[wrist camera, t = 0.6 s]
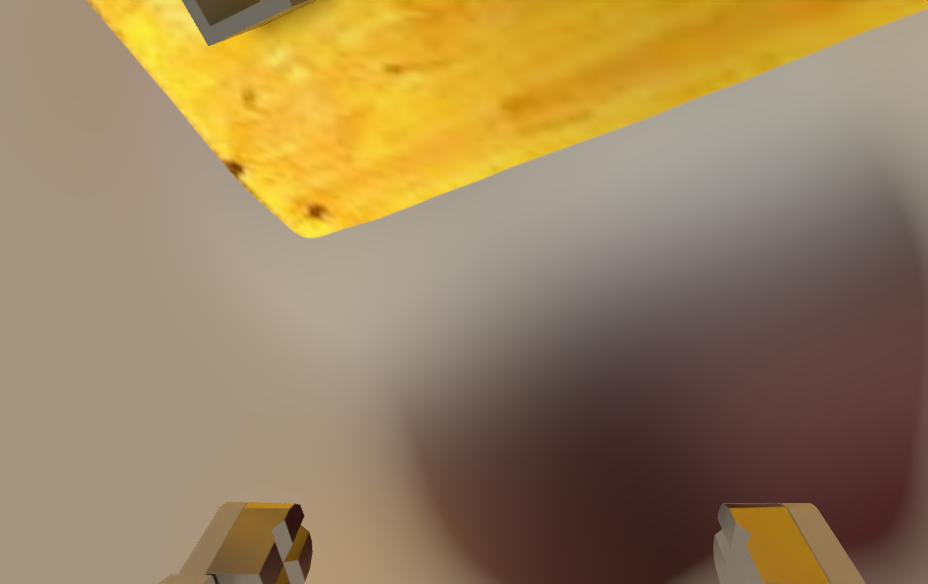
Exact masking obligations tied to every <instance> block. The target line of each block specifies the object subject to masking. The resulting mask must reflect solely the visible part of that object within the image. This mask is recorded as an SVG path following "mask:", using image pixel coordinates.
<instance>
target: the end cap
mask: <svg viewBox="0 0 928 584" xmlns="http://www.w3.org/2000/svg"><path fill="white" fill-rule="evenodd" d="M182 1H183V3H184V5H185V6H186V8H187V10H188V12H189V13H190V15H191V17H192V18H193V20H194V22H195V24H196V25H197V27H198V29H199V31H200V32H201V34H202V36H203V37H204V39H205V41H206V43H207V44H208V46H211V45H213V44H216V43H219V42H221V41H224V40H226V39H229V38H231V37H234V36H237V35H239V34H242V33H244V32H247V31H250V30H252V29H255V28H257V27H260V26H262V25H264V24H266V23H269V22H271V21H273V20H275V19H277V18H279V17H281V16H283V15H286V14H288V13H290V12H292V11H294V10H296V9H298V8H300V7H303V6H305V5H307V4H309V3H311V2H313V1H315V0H262V1H260V0H182Z"/></svg>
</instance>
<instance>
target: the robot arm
mask: <svg viewBox="0 0 928 584" xmlns="http://www.w3.org/2000/svg"><path fill="white" fill-rule="evenodd" d="M303 518H304V514H303V511H302V508H301V505H300V504H289V503H257V502H255V503H254V502H250V503H248V502H246V503H245V502H226V503H225V504H224V505H222V506H221V507H220V508H219V509H218V511H217V512H216V514H215V515H214V517H213V519H212V520H211V522H210V524H209V525H208V527H207V528H206V530H205V532H204V533H203V535H202V536H201V538H200V540H199V541H198V543H197V545H196V546H195V548H194V549H193V551H192V553H191V554H190V556H189V558H188V559H187V561H186V562H185V564H184V566H183V567H182V569H181V570H180V572H179V574H174V575H173V574H171V575H169V576H168V577H167V578H165V579H164V580H163V581H161V582H160V583H159V584H303V583H304V582H305V581H306V578H307V575H308V572H309V570H310V565H311V559H312V552H313V551H312V540H311V536H310V533H309V531H308V530H306V529H305V528H304V527H303V526H301V523H302V521H303ZM718 520H719V522H720V524H721V527H722V530H721V531H719V533H717V534H716V535H715V540H714V548H713V549H714V559H715V566H716V570H717V574H718V578H719V580H720V583H721V584H866V583H865V582H864V580H863V578H862V577H861V575H860V574H859V572H858V571H857V569H856V568H855V566H854V565H853V563H852V561H851V560H850V559H849V557H848V555H847V554H846V552H845V551H844V549H843V548H842V546H841V545H840V543H839V541H838V540H837V538H836V537H835V535H834V534H833V532H832V531H831V529H830V528H829V526H828V524H827V523H826V521H825V520H824V518H823V517H822V515H821V514H820V512H819V510H818V509H817V508H816V507H815V506H814V505H812V504H811V503H792V504H791V503H789V504H788V503H781V504H778V503H743V504H742V503H739V504H723V505H722V506H721V507H720V510H719V515H718Z"/></svg>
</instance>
